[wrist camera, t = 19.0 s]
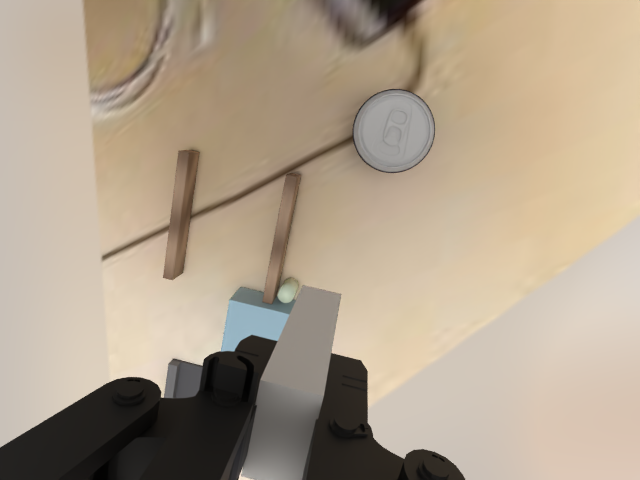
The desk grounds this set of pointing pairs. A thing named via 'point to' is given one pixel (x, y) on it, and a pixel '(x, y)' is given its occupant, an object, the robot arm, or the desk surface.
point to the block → (253, 318)
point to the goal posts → (288, 290)
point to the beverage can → (393, 130)
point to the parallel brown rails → (183, 213)
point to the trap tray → (182, 379)
